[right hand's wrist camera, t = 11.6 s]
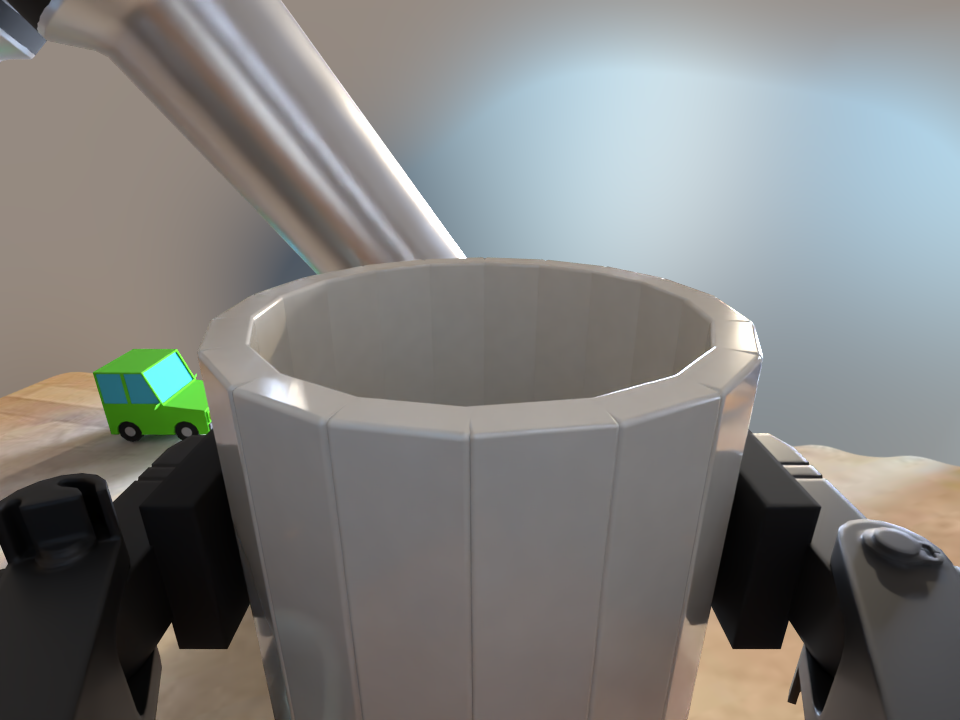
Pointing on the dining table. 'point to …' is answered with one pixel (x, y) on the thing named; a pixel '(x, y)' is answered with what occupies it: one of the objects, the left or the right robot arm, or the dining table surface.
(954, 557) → the dining table surface
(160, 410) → the toy car
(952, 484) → the dining table surface
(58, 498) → the right robot arm
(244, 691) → the dining table surface
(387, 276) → the cup
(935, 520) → the dining table surface
